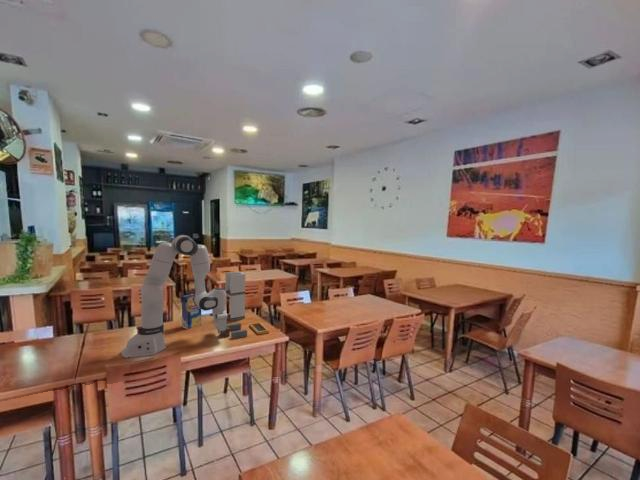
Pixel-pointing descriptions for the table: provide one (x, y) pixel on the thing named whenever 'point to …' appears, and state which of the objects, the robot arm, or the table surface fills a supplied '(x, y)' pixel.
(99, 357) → the table surface
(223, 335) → the walnut block
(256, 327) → the tray
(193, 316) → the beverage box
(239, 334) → the grey parallel walls
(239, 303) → the grey toy tower
